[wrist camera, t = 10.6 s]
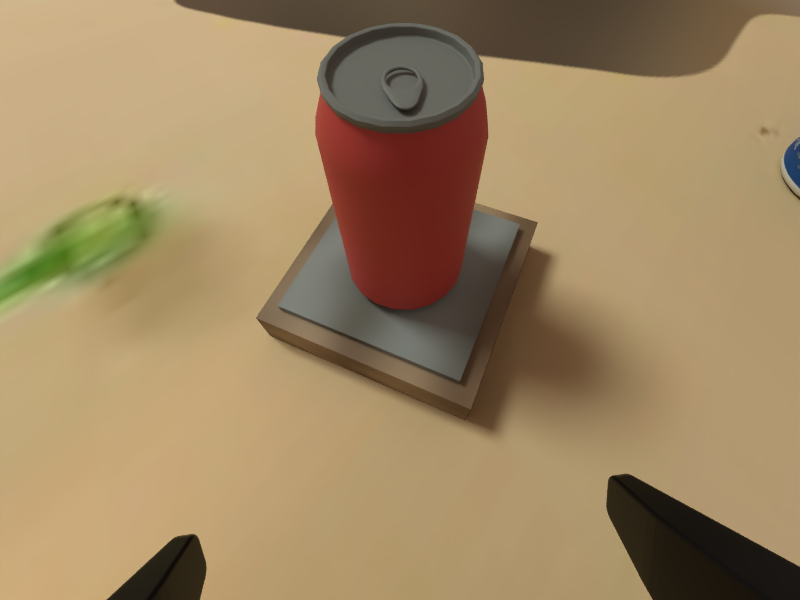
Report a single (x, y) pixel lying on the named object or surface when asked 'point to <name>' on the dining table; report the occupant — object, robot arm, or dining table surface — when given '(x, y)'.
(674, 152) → the dining table surface
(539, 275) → the dining table surface
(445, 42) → the beer can
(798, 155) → the beverage bottle
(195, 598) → the robot arm
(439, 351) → the walnut stand
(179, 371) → the dining table surface
